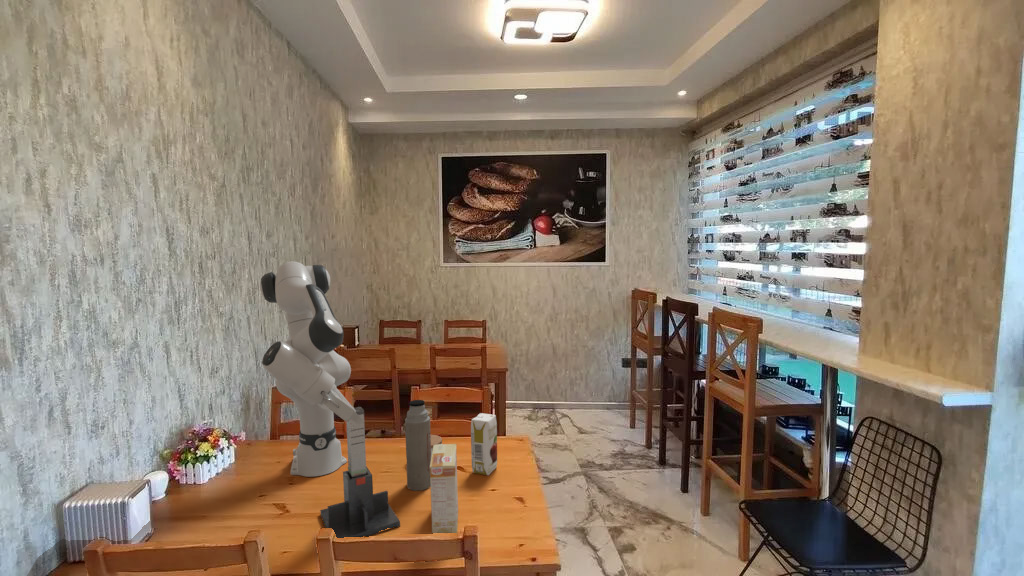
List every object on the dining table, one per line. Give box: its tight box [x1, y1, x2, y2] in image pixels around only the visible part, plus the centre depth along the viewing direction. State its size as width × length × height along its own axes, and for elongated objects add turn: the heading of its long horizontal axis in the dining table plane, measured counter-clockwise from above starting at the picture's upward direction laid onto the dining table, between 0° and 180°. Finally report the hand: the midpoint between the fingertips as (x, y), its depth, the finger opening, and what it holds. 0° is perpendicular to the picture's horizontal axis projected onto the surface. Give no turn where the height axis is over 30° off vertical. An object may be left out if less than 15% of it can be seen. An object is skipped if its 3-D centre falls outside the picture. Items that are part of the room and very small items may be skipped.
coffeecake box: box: [430, 443, 459, 534], centre depth 138 cm, size 15×7×20 cm, turn 5°
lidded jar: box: [431, 434, 443, 456], centre depth 178 cm, size 11×11×9 cm
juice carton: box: [470, 412, 498, 476], centre depth 169 cm, size 8×9×19 cm
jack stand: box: [319, 465, 401, 538], centre depth 139 cm, size 18×18×14 cm
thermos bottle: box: [404, 399, 432, 492], centre depth 159 cm, size 8×8×28 cm
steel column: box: [345, 406, 368, 479], centre depth 138 cm, size 4×4×24 cm
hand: (357, 416), depth 137 cm, fingers open, 8 cm apart
